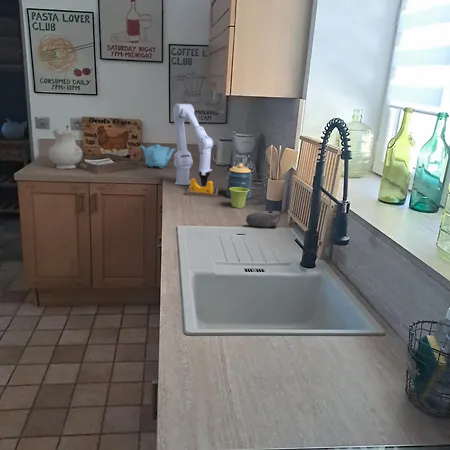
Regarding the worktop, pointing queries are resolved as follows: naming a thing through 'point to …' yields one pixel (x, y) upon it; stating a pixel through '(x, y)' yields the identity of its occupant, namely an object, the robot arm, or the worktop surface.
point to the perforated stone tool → (263, 218)
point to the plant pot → (238, 196)
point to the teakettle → (157, 155)
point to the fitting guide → (201, 193)
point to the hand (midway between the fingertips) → (203, 185)
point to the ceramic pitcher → (65, 149)
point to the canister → (239, 179)
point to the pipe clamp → (197, 188)
